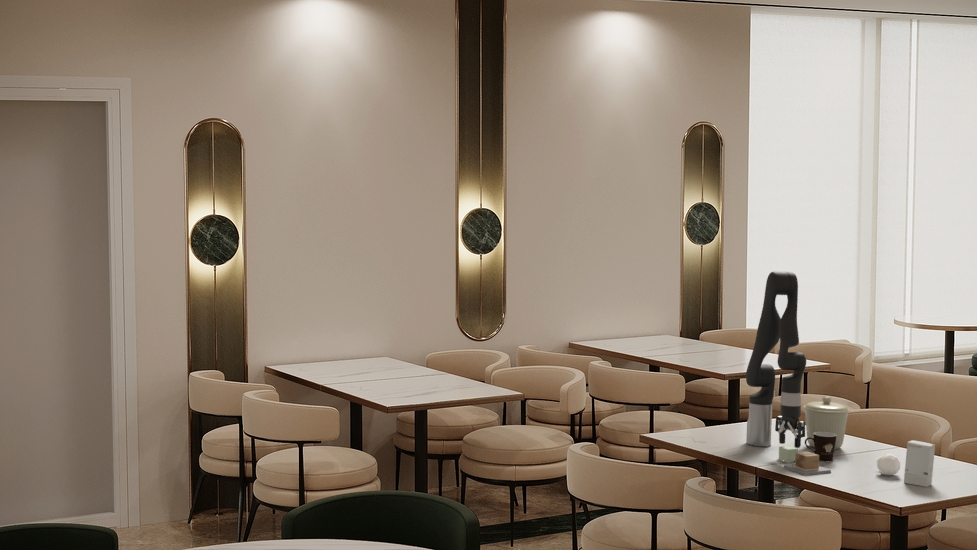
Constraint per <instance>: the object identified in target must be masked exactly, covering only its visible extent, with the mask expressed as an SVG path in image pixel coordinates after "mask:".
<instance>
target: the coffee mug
mask: <svg viewBox="0 0 977 550" xmlns="http://www.w3.org/2000/svg"><path fill="white" fill-rule="evenodd" d="M813 436H814V439H813V438H811V437H809V438H807V437H806V438H805V440H804V446H805V447H807V448H808V450H810V451H812V453H814V454H817V455H819V462H823V461H824V462H825V463H829V462H830V461H831V462H833V460H834V456H835V455H834V454H835V450H836V449H835V443H836V437H837V435H836V434H833V433H828V432H815V433H813ZM808 439H812V440H813V441H814V447H813V448H814V449H812V448H811V447H810V446H808V444H807V442H808ZM834 449H835V450H834ZM828 461H829V462H828ZM824 462H823V463H824Z"/></svg>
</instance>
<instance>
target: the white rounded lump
mask: <svg viewBox="0 0 977 550" xmlns="http://www.w3.org/2000/svg"><path fill="white" fill-rule="evenodd" d="M876 468H877V469H878V470H879V472H880V473H882V474H883V475H884V476H894V475H896V474H898V472H900V469H901V461H900V459H899V458H898V457H896V456H895V455H894V454H893V453H884V454H882V455H880V456H879V458H878V459H877V461H876Z"/></svg>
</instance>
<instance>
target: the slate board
mask: <svg viewBox="0 0 977 550" xmlns="http://www.w3.org/2000/svg"><path fill="white" fill-rule="evenodd" d="M783 467H784V469H785V468H786V469H785V470H788V469H789V471H792V472H794V473H797V474H800V475H802V476H813V475H814V476H815V475H821V474H822V475H823V474H831V473H832V469H830V468H829V469H828V468H826V467H823V466H820V465H819V469H809V470H805V469H802V468H799V467H796V466H795V463H791V464H790V463H789V464H784V465H783V466H782V468H783Z"/></svg>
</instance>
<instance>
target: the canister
mask: <svg viewBox="0 0 977 550" xmlns="http://www.w3.org/2000/svg"><path fill="white" fill-rule="evenodd" d="M821 400H822V401H810V402H808V403H806V404H803V409H804V412H805V413H804V415H805V431H806V439H807V438H809V437H811V438H813V439H814V436H813V433H815V432H828V433H833V434H836V435H837V437H836V443H835V449H834V451H835V450H838V449H839V450H840V449H841V447H842V446H843V444H844V438H845V434H846V428H847V421H848V414H849V412H850V411H851V409H850V408H849V407H847V406H846V405H844V404H842V403H839V402H832V398H831V397H830V396H823V397H822V398H821ZM807 442H808V444H809V447H812V448H814V441H813V440H812V439H808V440H807Z"/></svg>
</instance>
